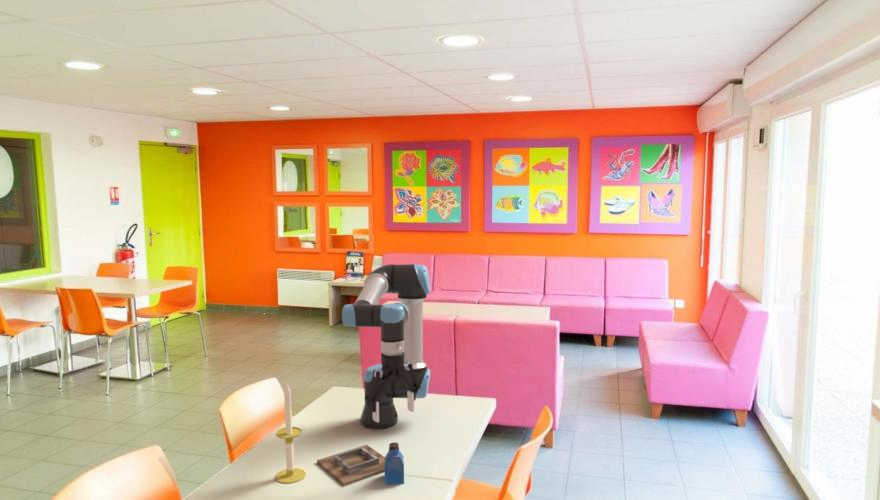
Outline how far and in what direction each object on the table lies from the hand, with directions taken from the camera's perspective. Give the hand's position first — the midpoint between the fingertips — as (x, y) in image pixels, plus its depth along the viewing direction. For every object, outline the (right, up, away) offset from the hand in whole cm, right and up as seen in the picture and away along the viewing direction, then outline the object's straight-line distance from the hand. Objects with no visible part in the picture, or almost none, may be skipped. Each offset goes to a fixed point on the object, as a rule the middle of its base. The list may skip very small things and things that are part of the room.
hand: (393, 415), depth 192 cm
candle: (-35, -22, +5) cm, 42 cm away
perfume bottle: (0, -22, +3) cm, 22 cm away
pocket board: (-14, -21, +12) cm, 28 cm away
